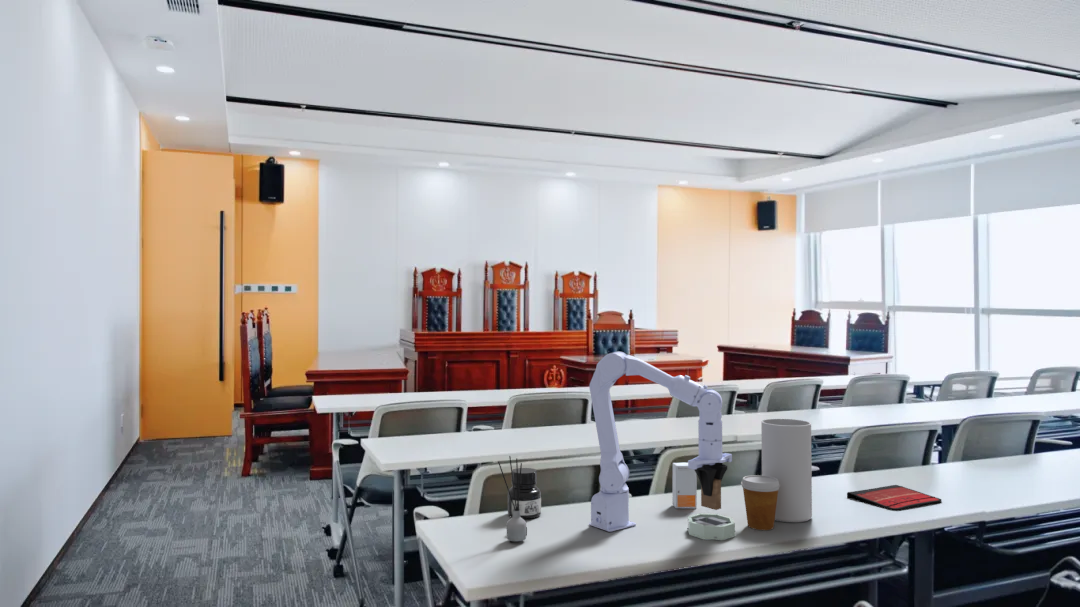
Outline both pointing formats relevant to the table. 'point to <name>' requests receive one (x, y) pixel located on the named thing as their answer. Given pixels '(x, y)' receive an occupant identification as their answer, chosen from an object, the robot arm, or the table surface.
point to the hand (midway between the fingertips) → (710, 494)
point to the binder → (893, 497)
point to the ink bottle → (525, 494)
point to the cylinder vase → (789, 466)
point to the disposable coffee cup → (760, 500)
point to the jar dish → (711, 526)
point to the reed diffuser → (515, 514)
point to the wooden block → (713, 500)
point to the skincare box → (684, 486)
